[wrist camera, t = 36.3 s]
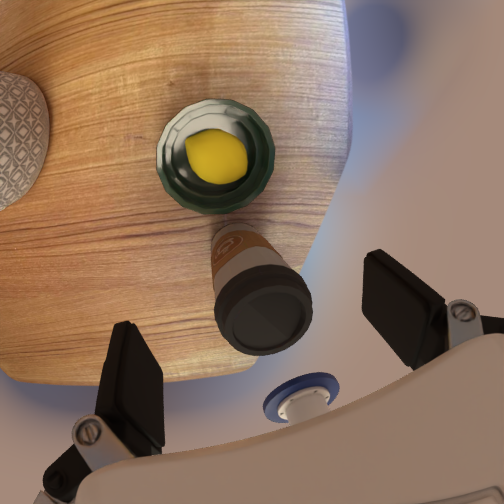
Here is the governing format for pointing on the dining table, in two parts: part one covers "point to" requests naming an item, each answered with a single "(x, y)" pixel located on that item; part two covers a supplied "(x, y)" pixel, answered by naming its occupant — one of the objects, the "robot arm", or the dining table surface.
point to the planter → (21, 135)
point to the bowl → (188, 182)
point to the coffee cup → (256, 293)
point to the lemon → (217, 156)
